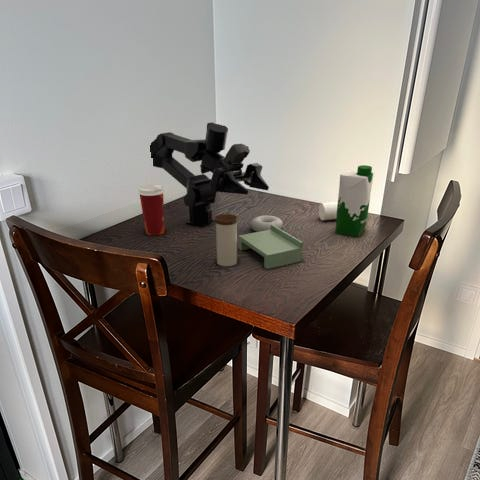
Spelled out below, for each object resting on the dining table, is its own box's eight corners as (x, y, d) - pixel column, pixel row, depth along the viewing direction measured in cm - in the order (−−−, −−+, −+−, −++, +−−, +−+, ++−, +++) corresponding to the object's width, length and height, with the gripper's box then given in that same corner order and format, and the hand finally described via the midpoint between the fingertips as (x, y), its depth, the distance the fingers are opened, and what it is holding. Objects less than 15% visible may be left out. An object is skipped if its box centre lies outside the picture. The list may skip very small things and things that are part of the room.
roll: (358, 220, 160) (360, 203, 157) (323, 222, 158) (325, 206, 156) (351, 214, 165) (353, 198, 162) (318, 216, 163) (319, 200, 161)
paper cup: (172, 231, 152) (169, 187, 145) (153, 238, 147) (148, 192, 140) (156, 226, 156) (152, 182, 149) (137, 232, 152) (132, 187, 144)
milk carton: (359, 238, 146) (368, 171, 136) (331, 233, 150) (337, 167, 140) (368, 229, 153) (377, 164, 142) (341, 224, 157) (347, 161, 146)
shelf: (238, 248, 140) (238, 230, 137) (271, 241, 144) (272, 224, 142) (266, 269, 128) (267, 249, 125) (301, 261, 132) (303, 242, 129)
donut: (248, 234, 150) (280, 236, 148) (248, 223, 148) (280, 225, 147) (253, 223, 159) (284, 225, 157) (253, 213, 157) (284, 214, 155)
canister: (212, 264, 131) (210, 219, 124) (222, 256, 135) (221, 212, 129) (231, 268, 128) (230, 222, 122) (241, 260, 133) (241, 216, 126)
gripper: (203, 140, 131) (244, 166, 124) (247, 137, 144) (287, 160, 137) (194, 178, 137) (233, 205, 131) (237, 172, 150) (274, 196, 144)
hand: (258, 190), depth 136 cm, fingers open, 9 cm apart
